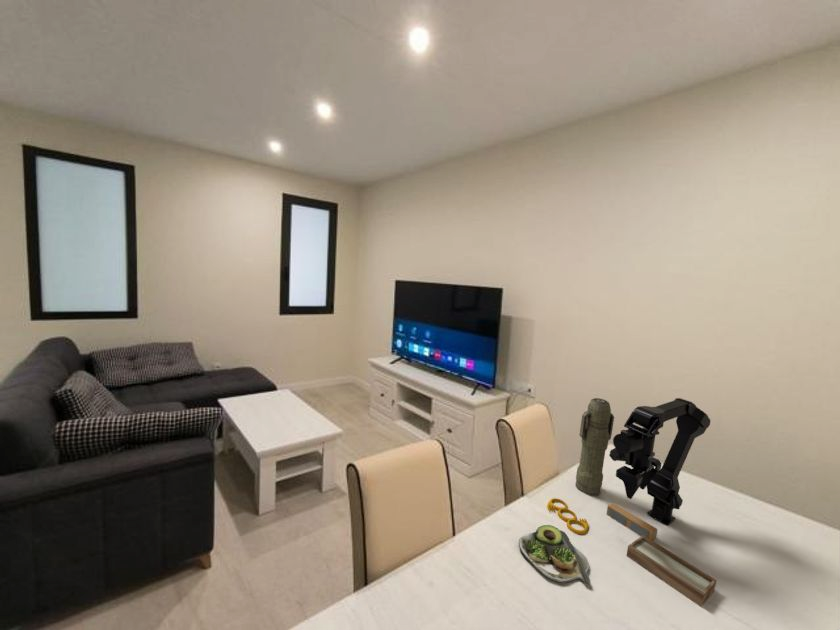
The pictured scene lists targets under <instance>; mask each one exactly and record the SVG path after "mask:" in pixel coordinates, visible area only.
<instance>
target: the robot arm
mask: <svg viewBox="0 0 840 630" xmlns="http://www.w3.org/2000/svg"><path fill="white" fill-rule="evenodd" d="M675 418H676V421H675V423H676V427H677V432H676V434H675V437H674V439H673V442H672V444H671V446H670V448H669V450H668V453H667V455H666V457H665V459H664V462H663V464H662V462H661V461H660V459H658V458H656V457H655V456H656V452H654V447H655V441H656V436H657V435H660V431H659V430H660V429H662V428H663V427H664V423H665V422H667V421H670V420H673V419H675ZM710 425H711V418H709V415H708V414H707V413H706V412H704V411H703V410H701V408H699V407H698V406H697V405H696V404H695V403H694V402H692V401H690V400H687V399H684V398H681V397H678V398H677V397H676V398H675V399H674V400H672V401H668V402H666V403H662V404H660V405H657V406H649V405H648V406H647V405H642V406H641V405H640V406H637V407H635V408H634V409H633V411H631V413H630V415H629V417H628V418H627V420H626V421H625V422H624V425H623V427H624V428H626V429H621V430H620V432H619V433H617V434H616V435H614V437H613V439H612V443H613V446H614V448H613V449H610V451H609V454H608V456H609V457H610V458H611V460H612V461H613V462H618V461H619V462H624V464H626V465H622V466H621V467H619V468H618V469H616V470H615V477H616V478H618V480H621V481H622V482H623V484H624V488H625V489H624V490H625V495H626V498H627V499H629V500H632V498H633V497H634V496H635V494H636V493H637V491H638V490H639V489H641V490H645V489H646V491H647V495H649V496H651V497H653V499H652V500H653V501H652V506H651V509H649V510H648V511H646V514H647V515H648V516H650V517H652V518H653V519H655V520H657V521H658V522H660V523H662V524H664V525H666V526H669V525H670V524H672V523H673V522H674V521H675V520H676V517H675V516H673V512H674V509H675V510H680V508H681V506H682V505H683V501H684V500H683V499H682V496H681V495H680V494H679V493H680V489H681V487H680V482H679V476H680V474H681V471H682V468H683V466H684V464H685V462H686V459H687V457H688V454H689V453H690V450H691V449H692V446H693V444H694V442H695V439H696V438H698V437H700V436H702V435H703V434H705V432H706V431H707V429H708V428H709V427H710ZM627 465H628V466H630V467H628V466H627Z"/></svg>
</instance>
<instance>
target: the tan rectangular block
mask: <svg viewBox="0 0 840 630" xmlns="http://www.w3.org/2000/svg"><path fill="white" fill-rule="evenodd" d="M606 515H607V516H608V517H610V518H612V519H613V520H614V521H616V522H617V523H619V524H621V525H623V526H624V527H626V528H627V529H628V530H630V531H632V532H634V533H635V534H637V535H638V536H640V537H641V536H642V535H644V536H646V537H647V538H649V539H650V540H652V541H655V540H656V539H657V535H658V528H657V527H655V526H653V525H651V524H650V523H649V522H647V521H644V520H643V519H642V518H640V517H638V516H636V515H635V514H633V513H632V512H630V511H628V510H626V509H625V508H623V507H621V506H620V505H618V504H616V503H614V502H613V503H610V504H608V505H607V509H606Z"/></svg>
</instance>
